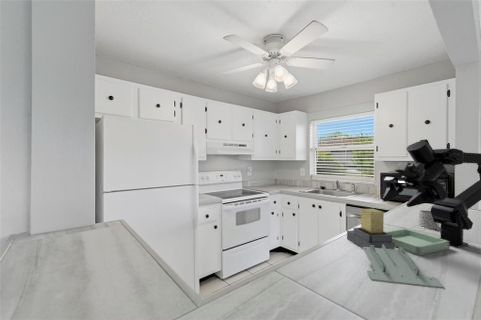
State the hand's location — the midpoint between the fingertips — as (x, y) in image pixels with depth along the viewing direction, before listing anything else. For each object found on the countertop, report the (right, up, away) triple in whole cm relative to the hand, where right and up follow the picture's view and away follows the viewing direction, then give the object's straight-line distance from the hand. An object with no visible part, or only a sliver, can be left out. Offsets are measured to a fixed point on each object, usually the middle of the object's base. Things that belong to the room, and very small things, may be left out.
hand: (394, 202), depth 71 cm
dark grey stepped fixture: (-8, -14, +1) cm, 17 cm away
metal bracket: (-12, -15, -16) cm, 25 cm away
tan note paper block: (-8, -11, 0) cm, 14 cm away
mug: (+32, -15, +23) cm, 42 cm away
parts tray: (+7, -15, +2) cm, 17 cm away
